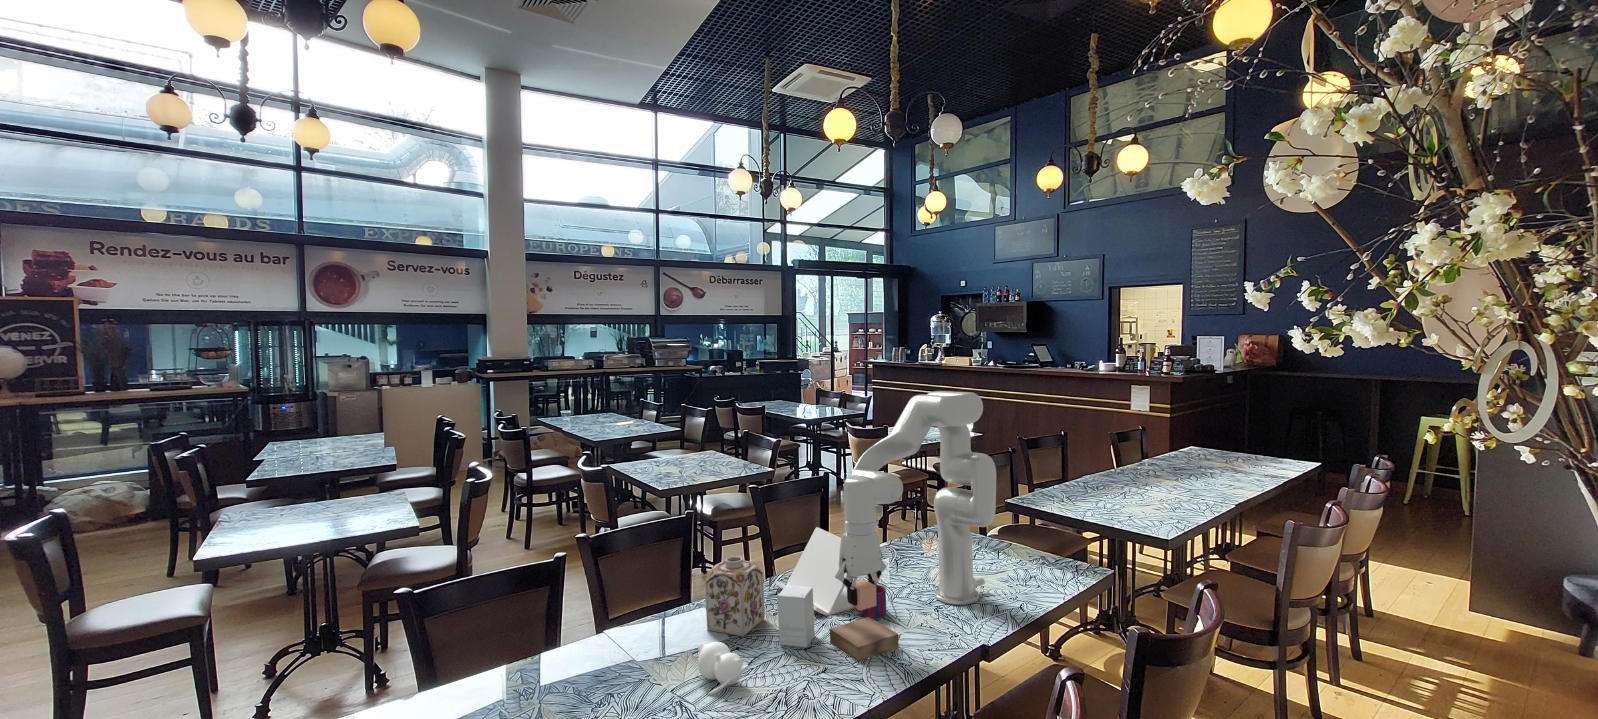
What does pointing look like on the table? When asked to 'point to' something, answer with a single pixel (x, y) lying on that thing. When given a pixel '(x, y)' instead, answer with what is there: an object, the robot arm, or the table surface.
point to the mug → (881, 605)
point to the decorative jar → (734, 597)
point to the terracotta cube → (865, 595)
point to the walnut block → (864, 639)
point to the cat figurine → (720, 664)
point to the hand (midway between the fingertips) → (861, 600)
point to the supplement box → (796, 616)
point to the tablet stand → (821, 573)
